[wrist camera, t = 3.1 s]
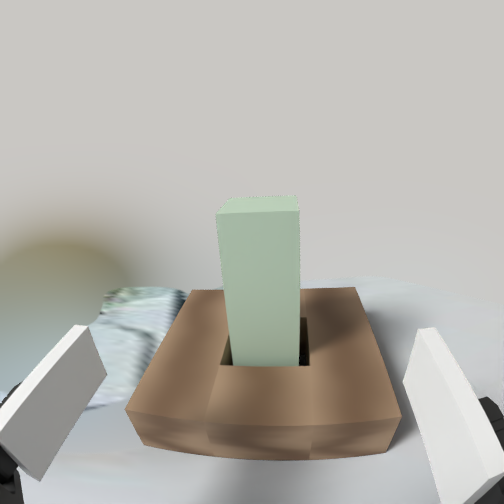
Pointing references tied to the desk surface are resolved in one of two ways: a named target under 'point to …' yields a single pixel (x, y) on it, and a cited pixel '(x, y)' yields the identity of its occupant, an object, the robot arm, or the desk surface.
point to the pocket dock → (268, 387)
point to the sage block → (261, 278)
